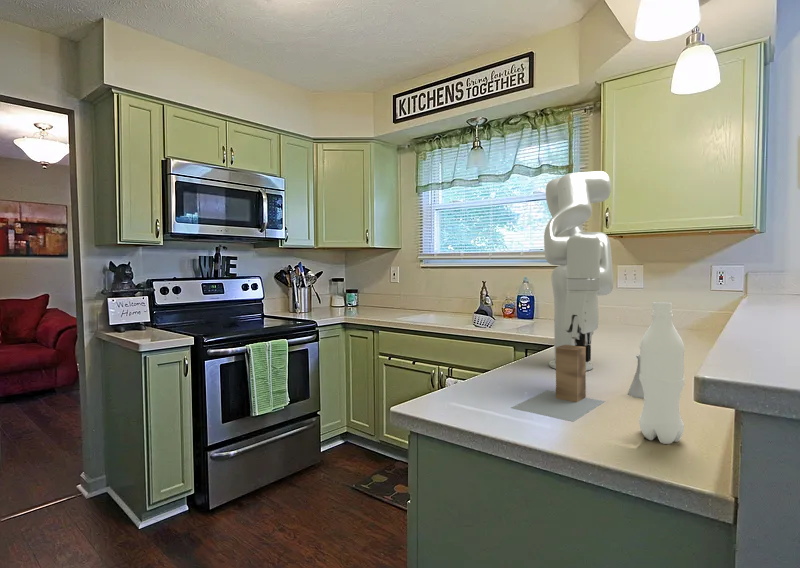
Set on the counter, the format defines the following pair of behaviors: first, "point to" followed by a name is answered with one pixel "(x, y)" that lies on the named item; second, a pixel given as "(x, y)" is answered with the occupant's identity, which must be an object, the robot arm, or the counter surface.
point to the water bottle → (662, 377)
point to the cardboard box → (571, 373)
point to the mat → (558, 406)
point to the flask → (636, 384)
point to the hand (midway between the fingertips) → (582, 360)
